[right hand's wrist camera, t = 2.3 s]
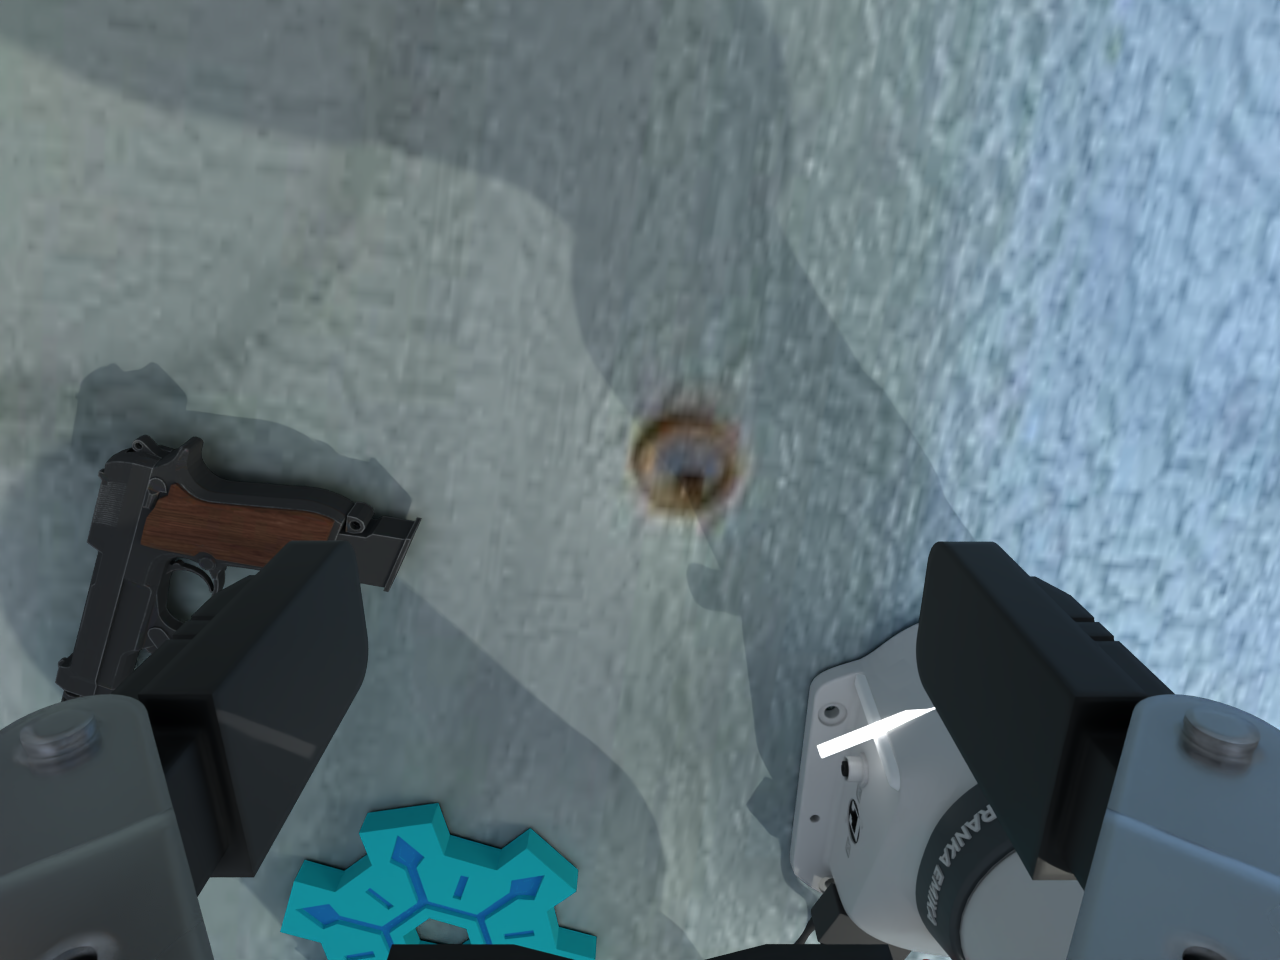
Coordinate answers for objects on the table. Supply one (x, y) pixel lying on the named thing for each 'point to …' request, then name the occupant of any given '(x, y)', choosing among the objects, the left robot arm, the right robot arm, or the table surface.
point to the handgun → (197, 548)
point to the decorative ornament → (435, 891)
